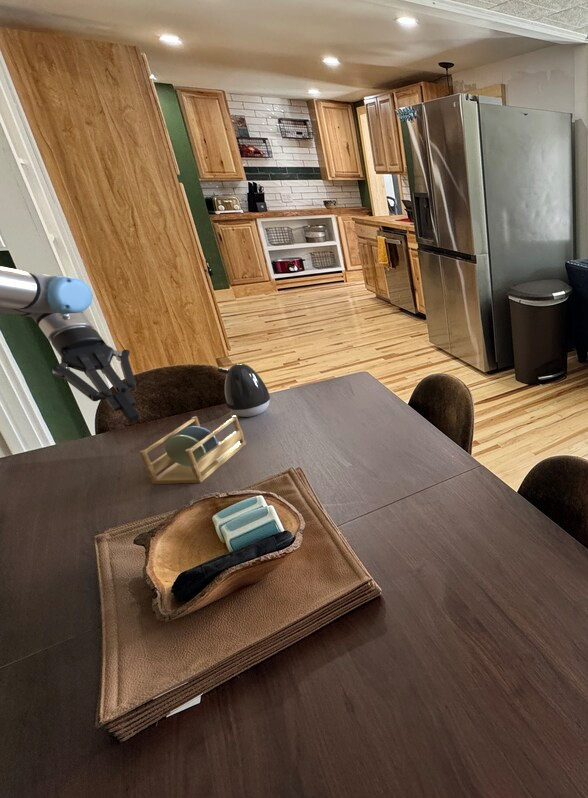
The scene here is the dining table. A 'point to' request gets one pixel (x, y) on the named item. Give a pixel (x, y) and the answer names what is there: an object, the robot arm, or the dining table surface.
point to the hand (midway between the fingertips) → (134, 418)
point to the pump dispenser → (245, 391)
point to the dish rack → (192, 453)
